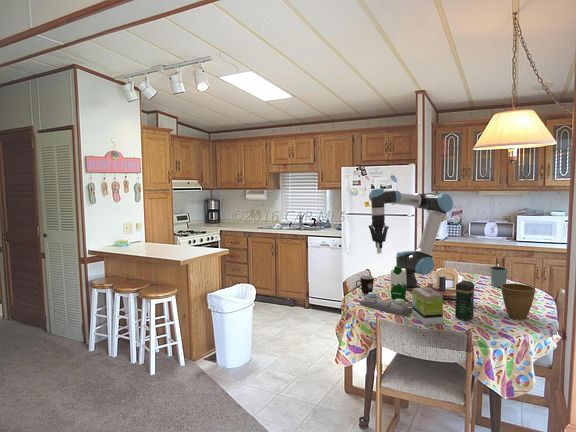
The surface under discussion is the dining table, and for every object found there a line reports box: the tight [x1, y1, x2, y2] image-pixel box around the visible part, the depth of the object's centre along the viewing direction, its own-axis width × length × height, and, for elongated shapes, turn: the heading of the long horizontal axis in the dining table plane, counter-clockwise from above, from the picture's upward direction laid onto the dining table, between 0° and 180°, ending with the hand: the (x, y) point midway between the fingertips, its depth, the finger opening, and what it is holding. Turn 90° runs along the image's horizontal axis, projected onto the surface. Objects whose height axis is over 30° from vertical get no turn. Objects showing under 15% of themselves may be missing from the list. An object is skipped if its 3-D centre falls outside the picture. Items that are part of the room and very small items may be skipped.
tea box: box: [411, 287, 444, 326], centre depth 199 cm, size 15×10×15 cm
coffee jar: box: [454, 280, 475, 321], centre depth 201 cm, size 10×8×19 cm
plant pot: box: [500, 283, 536, 321], centre depth 199 cm, size 15×15×16 cm
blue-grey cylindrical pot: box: [489, 266, 508, 288], centre depth 257 cm, size 10×10×12 cm
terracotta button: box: [381, 297, 391, 302], centre depth 220 cm, size 5×5×2 cm
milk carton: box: [390, 265, 407, 301], centre depth 235 cm, size 9×9×20 cm
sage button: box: [394, 299, 405, 305], centre depth 213 cm, size 5×5×2 cm
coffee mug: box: [355, 275, 375, 295], centre depth 250 cm, size 12×9×10 cm
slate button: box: [367, 291, 377, 298], centre depth 227 cm, size 5×5×2 cm
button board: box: [359, 294, 412, 317], centre depth 220 cm, size 28×10×4 cm, turn 41°
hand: (379, 253), depth 239 cm, fingers closed
